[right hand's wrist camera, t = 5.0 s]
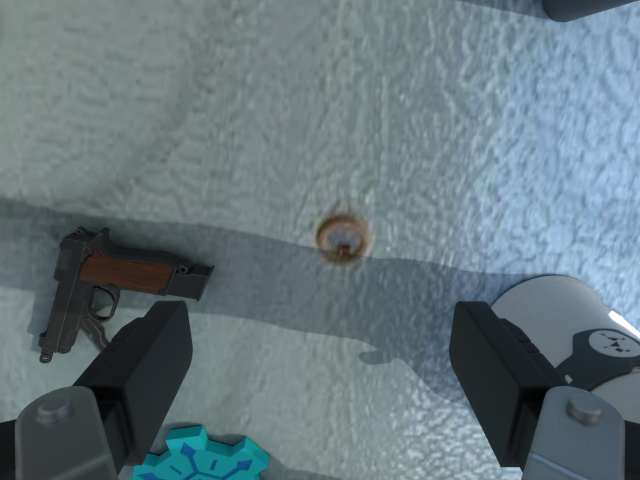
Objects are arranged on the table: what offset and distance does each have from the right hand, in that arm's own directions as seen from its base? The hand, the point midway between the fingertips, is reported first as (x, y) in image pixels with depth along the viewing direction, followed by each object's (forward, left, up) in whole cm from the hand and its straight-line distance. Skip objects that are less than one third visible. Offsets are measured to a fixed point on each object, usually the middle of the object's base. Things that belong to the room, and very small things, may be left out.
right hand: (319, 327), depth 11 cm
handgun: (+17, -23, -29) cm, 41 cm away
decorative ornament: (+45, -16, -29) cm, 56 cm away
